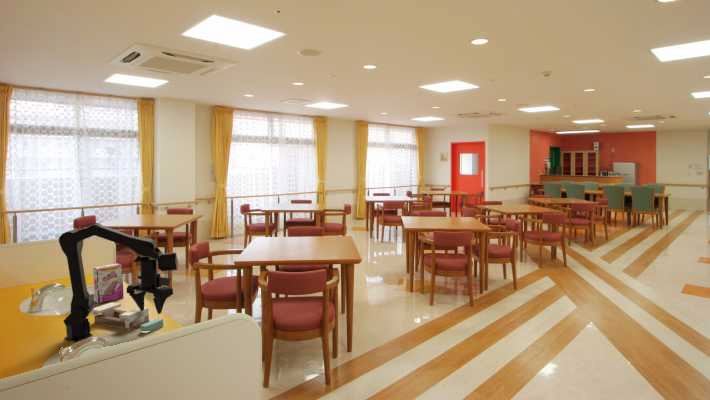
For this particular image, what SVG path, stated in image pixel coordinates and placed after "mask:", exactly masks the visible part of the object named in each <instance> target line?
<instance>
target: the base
mask: <svg viewBox="0 0 710 400" xmlns="http://www.w3.org/2000/svg"><path fill="white" fill-rule="evenodd" d="M149 315H150V314H149V307H146V306H144V310H143V311H141V310H140V309H139V307H137V308H133V309H132V310H128V311H126V310H121V309H116V308H114V316H112V317H110V316H105V315H102V314H101V313H99V314H96V315H93V317H94V320H93V321H94V322H93V324H95V325H100V326H101V325H102V326H105V327H108V328H109V327H111V328H114V329H118V330H119V329H120V330H124V331H128V330H130V331H132V330H135V329H137V328H140V325H142V324H145V323H147V322H150V316H149Z"/></svg>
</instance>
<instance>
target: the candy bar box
mask: <svg viewBox="0 0 710 400" xmlns="http://www.w3.org/2000/svg"><path fill="white" fill-rule="evenodd" d="M92 271H93V272H92V273H93V291H94V293H93V294H94V301H95V303H97V304H99V305H100V304H105V303H107V302H108V303H109V302H111V301H117V300H121V299H124V281H123V278H124V277H123V276H124V275H123V264H121V263H113V264H112V263H111V264H106V265H102V266H101V265H100V266H95V267H93V268H92ZM120 298H121V299H120ZM116 299H117V300H116Z"/></svg>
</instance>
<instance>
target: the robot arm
mask: <svg viewBox="0 0 710 400" xmlns="http://www.w3.org/2000/svg"><path fill="white" fill-rule="evenodd" d="M94 236H96V237H99V238H101V239H104V240H107V241H110V242H113V243H116V244H119V245H121V246H125V247H127V248H129V249H131V250H132V251H133V252H135V253H136V254H138V255H137V256H136V258H135V259H134V260H133V263H139V271H140V274H139V275H137V279H139V280H140V282H136V283H132V284H129V285H127V287H126V294H128V296H130V297H131V298H132V300H133V301H134V302H135V304H136V306H137V308H139V309H140V310H141V311H143V310H144V307H145V296H146V294H147V293H149V294H152V295H153V298H152V300H153V303H154V306H155V310H156V312H157V314H158V315H160V314H162V311H163V308H164V305H165V302H166V300H167V299H168V298H169V297H171V296H172V295H174V289H173V288H172V286H170V285H171V284H170V283H171V279H172V278H170V277H164V276H161V273H158V269H159V271H161V272H170V271H179V270H178V269H179V260H178V254H177V252H170V253H168V252H167V253H163V251H161V249H160V248H159V247H158V244H157V241H155V239H152V238H149V237H143V236H134V235H131V234H128V233H125V232H122V231H119V230H117V229H114V228H111V227H107V226H105V225H103V224H101V223H98V222H97V223H94V224H91V225H89V226H87V227H84V228H82V229H79V230H78V229H71V230H68V231H65V232H64V233H62V234H60V236H59V238H58V243H59V246H60V249H61V251H62V252H63V253H64V255H65V257H66V261H67V267H68V274H69V278H70V279H69V280H70V285H71V291H72V297H71V302H70V313H69V315H68V316H67V317H65V318H64V320H63V323H64V326H65V328H66V329H65V330H66V337H64V340H67V341H71V342H78V341H81V340H83V339H86V338H89V337H91V336H93V333H91V323H90V321H89V318H87V317H89V316H90V314H91V311H92V310H93V309H94V308H95V306H96V302H95V295H94V293H91V294H90V293H89V291H88V289H87V287H88V286H87V282H86V281H87V280H86V275H85V270H84V264H83V263H84V262H83V256H82V252H83V248H84V240H86V239H88V238H91V237H94Z"/></svg>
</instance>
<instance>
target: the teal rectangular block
mask: <svg viewBox="0 0 710 400" xmlns="http://www.w3.org/2000/svg"><path fill="white" fill-rule="evenodd" d="M162 327H164V319H163V318H155V319H153V320H149V322H147V323H145V324H142V325H140V326H139V330H140V331H151V332H153V330H154V331H155V330H156V331H157V329H160V328H162Z"/></svg>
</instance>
